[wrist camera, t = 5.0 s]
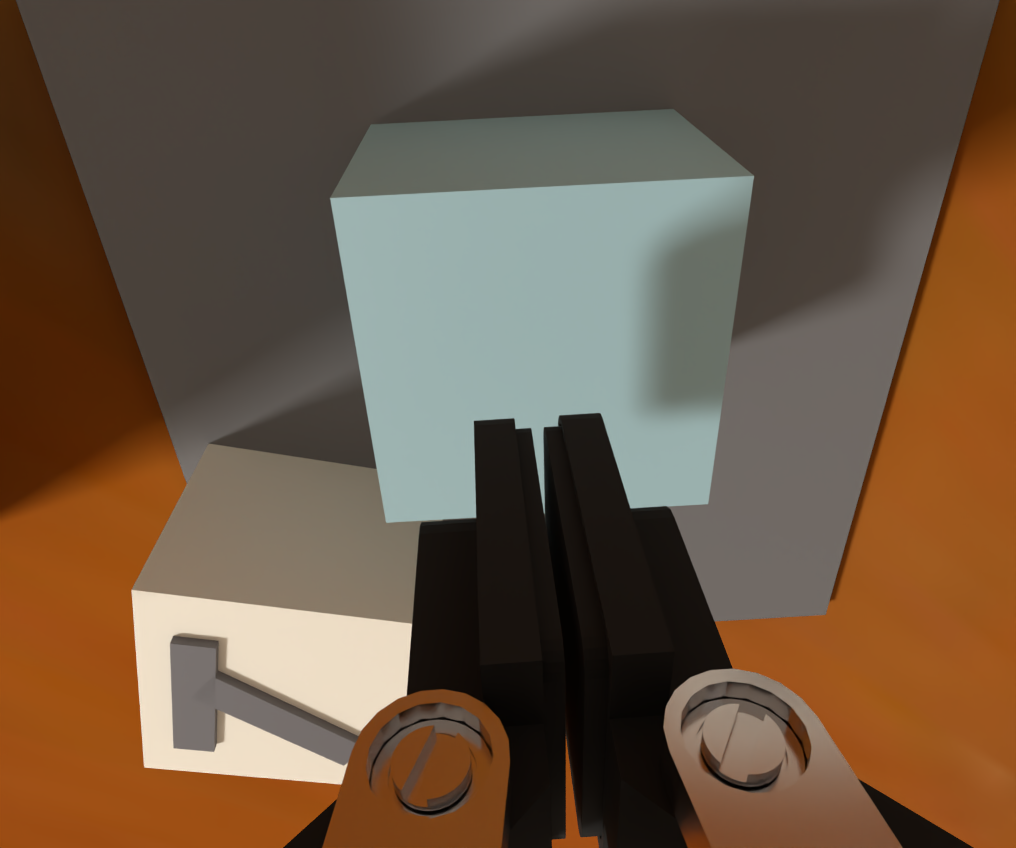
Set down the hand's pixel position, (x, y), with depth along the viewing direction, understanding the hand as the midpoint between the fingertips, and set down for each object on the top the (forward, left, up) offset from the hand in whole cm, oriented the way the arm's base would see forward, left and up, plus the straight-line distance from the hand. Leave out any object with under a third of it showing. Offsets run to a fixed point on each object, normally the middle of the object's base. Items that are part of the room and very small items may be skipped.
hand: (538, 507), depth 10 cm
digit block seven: (+6, +7, -8) cm, 12 cm away
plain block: (0, -1, -8) cm, 8 cm away
